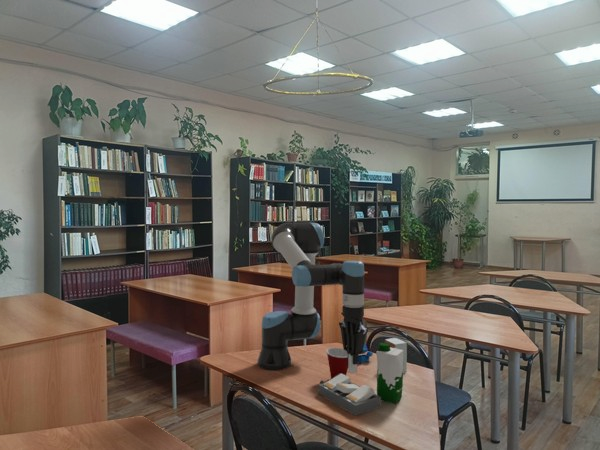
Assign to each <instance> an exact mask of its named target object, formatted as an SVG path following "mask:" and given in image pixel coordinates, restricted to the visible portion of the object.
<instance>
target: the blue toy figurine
mask: <svg viewBox="0 0 600 450" xmlns="http://www.w3.org/2000/svg"><path fill="white" fill-rule="evenodd" d="M373 354H374V352H372V351H369V349H368V347H367V345H366V344H365V343H364V348H363V353H362V354H359V355H358V363H359V364H364V363H367V362H369V360H370V357H372V356H373Z"/></svg>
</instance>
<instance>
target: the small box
mask: <svg viewBox="0 0 600 450" xmlns="http://www.w3.org/2000/svg"><path fill="white" fill-rule="evenodd" d="M384 343H389V344H390V347H391V348H397V349H400V350H403V373H407V359H408V358H407V356H408V353H407V351H408V343H407V342H406V341H403V340H402V339H399V338H397V337H392V338H391V337H390V338H386V339H384Z"/></svg>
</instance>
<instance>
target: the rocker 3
mask: <svg viewBox="0 0 600 450" xmlns="http://www.w3.org/2000/svg"><path fill="white" fill-rule="evenodd" d="M374 394H375V389H374V388H372V387H370V386H368V385H366V384H362V385H361V386H360V388H358V389H357V390H355V391H354V392H352V393H350V394H349V395H347V396H346V398H347V399H348V400H350V401H352V402H354V403H355V404H356V403H359V402H362V401H365V400H366V399H368V398H369V397H371V396H372V395H374Z"/></svg>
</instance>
